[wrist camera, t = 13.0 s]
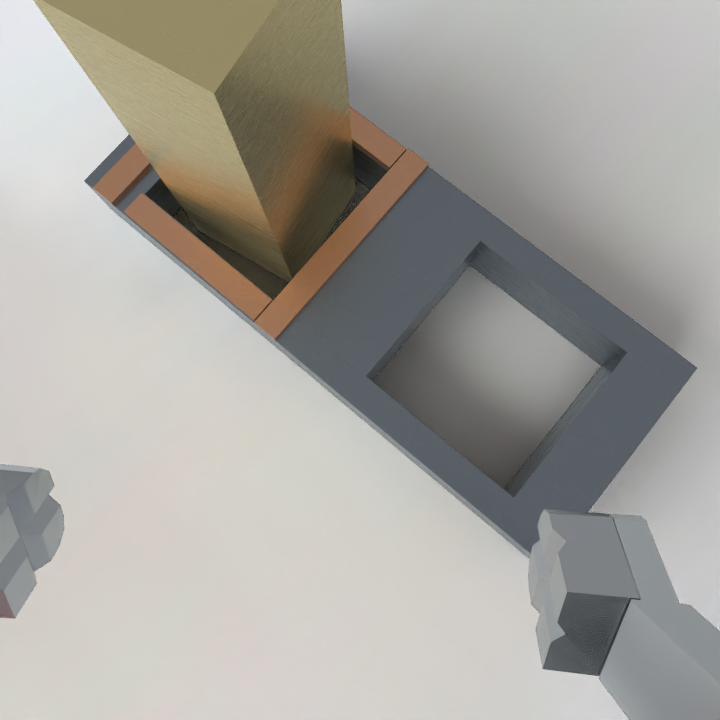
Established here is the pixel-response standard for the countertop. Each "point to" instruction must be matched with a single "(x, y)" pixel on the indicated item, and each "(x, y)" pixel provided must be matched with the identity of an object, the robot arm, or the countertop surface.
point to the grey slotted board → (411, 306)
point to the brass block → (229, 110)
